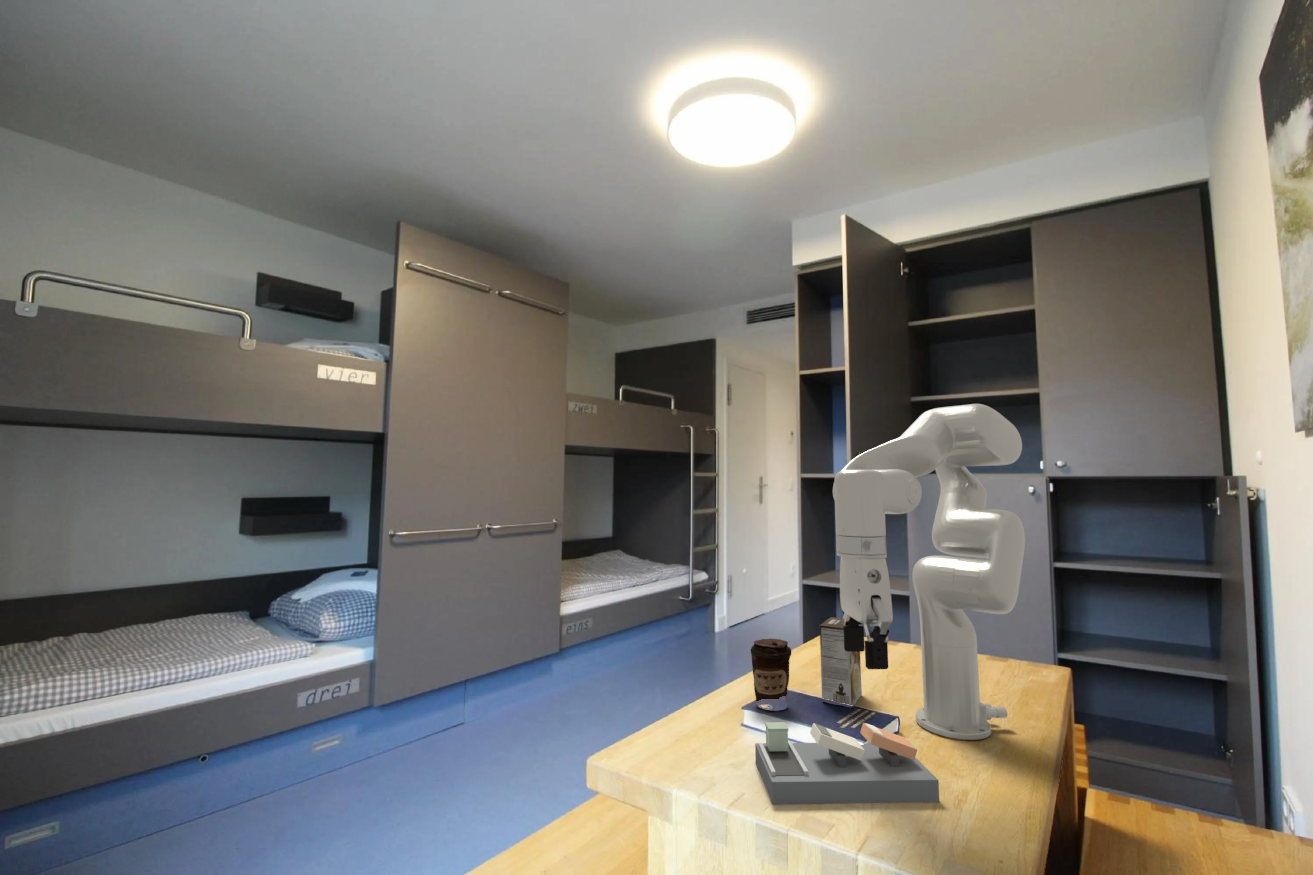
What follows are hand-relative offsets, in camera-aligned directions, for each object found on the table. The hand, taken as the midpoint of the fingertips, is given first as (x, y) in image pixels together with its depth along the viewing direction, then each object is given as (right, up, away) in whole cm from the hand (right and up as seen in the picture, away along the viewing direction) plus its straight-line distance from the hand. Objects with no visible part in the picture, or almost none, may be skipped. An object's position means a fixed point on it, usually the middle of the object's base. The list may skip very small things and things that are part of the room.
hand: (865, 658), depth 86 cm
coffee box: (+7, -21, +31) cm, 38 cm away
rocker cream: (-5, -12, -1) cm, 13 cm away
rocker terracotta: (+3, -12, -1) cm, 13 cm away
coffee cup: (-9, -21, +27) cm, 35 cm away
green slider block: (-13, -15, +2) cm, 20 cm away
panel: (-4, -18, -2) cm, 19 cm away
